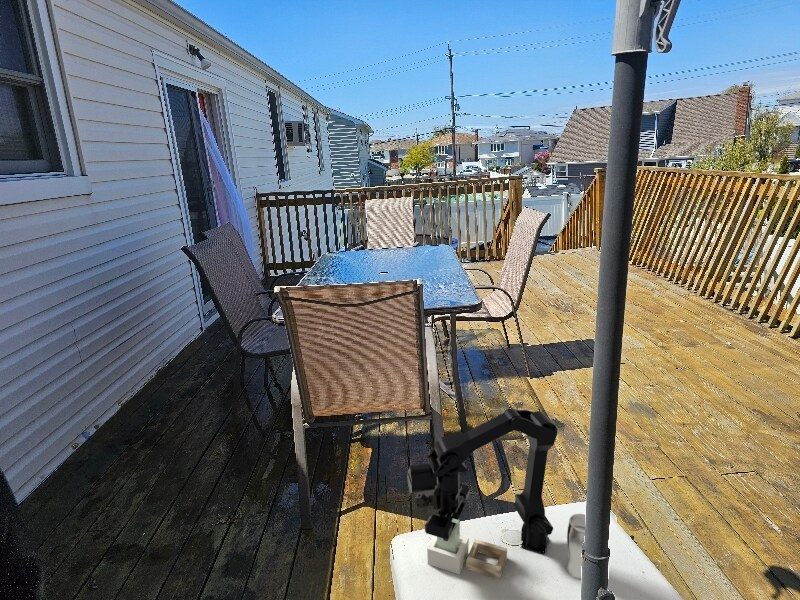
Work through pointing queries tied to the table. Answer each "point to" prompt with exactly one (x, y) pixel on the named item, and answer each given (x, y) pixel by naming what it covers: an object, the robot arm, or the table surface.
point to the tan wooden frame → (482, 565)
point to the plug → (451, 539)
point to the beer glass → (575, 544)
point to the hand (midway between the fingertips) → (448, 534)
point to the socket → (448, 556)
